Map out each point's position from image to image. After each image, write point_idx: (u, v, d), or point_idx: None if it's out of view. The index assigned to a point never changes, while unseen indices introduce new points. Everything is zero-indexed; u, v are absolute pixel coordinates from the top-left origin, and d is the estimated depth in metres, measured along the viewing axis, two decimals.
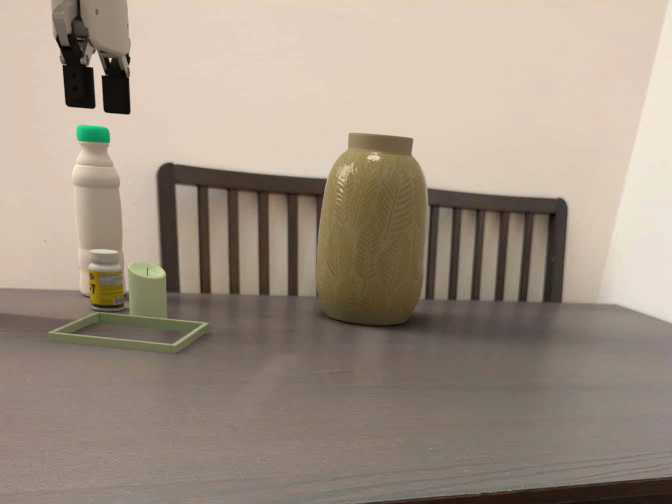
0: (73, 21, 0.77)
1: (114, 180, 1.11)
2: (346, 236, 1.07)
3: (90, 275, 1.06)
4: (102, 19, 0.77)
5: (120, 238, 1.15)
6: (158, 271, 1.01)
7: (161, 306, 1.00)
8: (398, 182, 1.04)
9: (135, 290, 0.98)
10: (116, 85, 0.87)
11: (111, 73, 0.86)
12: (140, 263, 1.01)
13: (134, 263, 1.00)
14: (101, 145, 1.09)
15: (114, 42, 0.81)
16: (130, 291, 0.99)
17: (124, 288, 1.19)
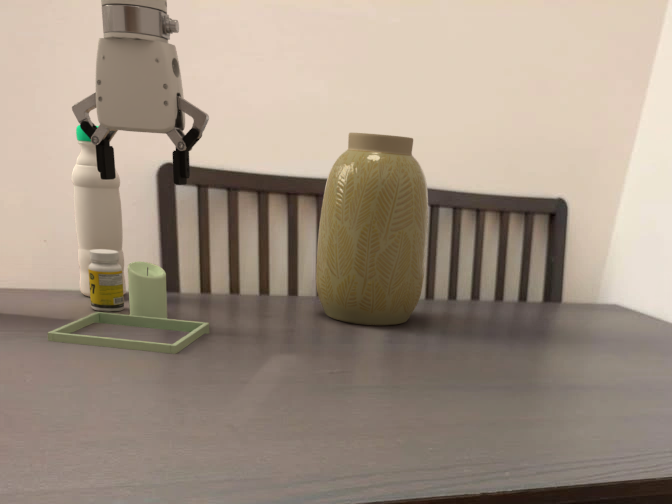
0: None
1: (114, 180, 1.11)
2: (346, 236, 1.07)
3: (90, 275, 1.06)
4: (108, 104, 0.89)
5: (120, 238, 1.15)
6: (158, 271, 1.01)
7: (161, 306, 1.00)
8: (398, 182, 1.04)
9: (135, 290, 0.98)
10: None
11: None
12: (140, 263, 1.01)
13: (134, 263, 1.00)
14: None
15: (135, 121, 0.90)
16: (130, 291, 0.99)
17: (124, 288, 1.19)
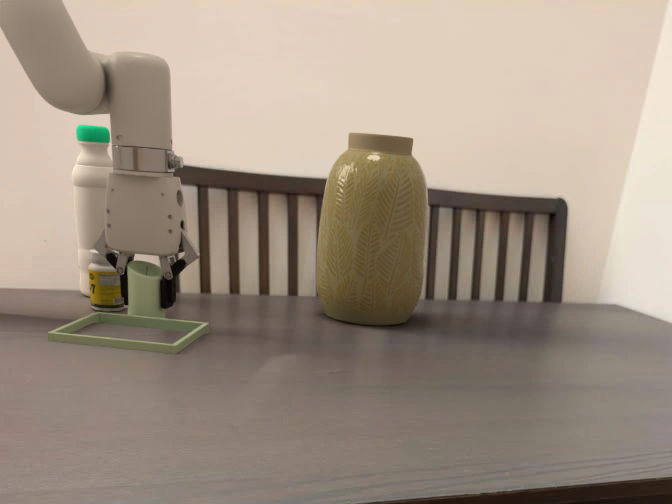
0: None
1: None
2: (346, 236, 1.07)
3: (90, 275, 1.06)
4: (116, 231, 0.96)
5: None
6: (157, 271, 1.01)
7: (160, 306, 1.00)
8: (398, 182, 1.04)
9: (134, 289, 0.98)
10: None
11: None
12: (139, 262, 1.01)
13: (133, 262, 1.00)
14: (101, 145, 1.09)
15: (141, 246, 0.96)
16: (129, 290, 0.99)
17: None
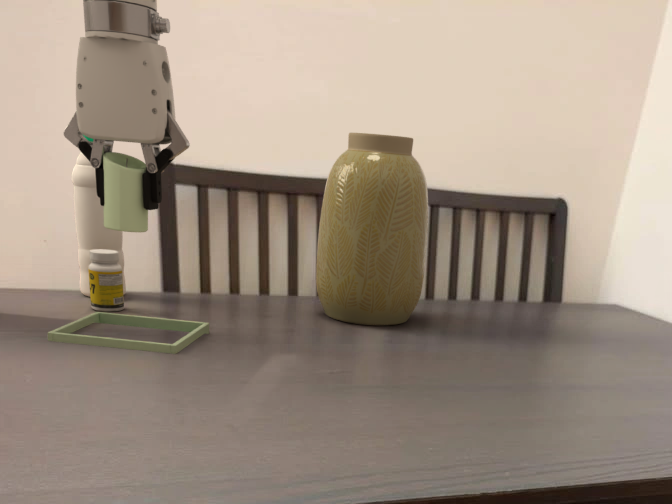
0: None
1: None
2: (346, 236, 1.07)
3: (90, 275, 1.06)
4: (90, 111, 0.80)
5: (120, 238, 1.15)
6: (139, 165, 0.85)
7: (142, 207, 0.85)
8: (398, 182, 1.04)
9: (111, 183, 0.83)
10: None
11: None
12: (118, 154, 0.85)
13: (111, 153, 0.84)
14: None
15: (120, 130, 0.81)
16: (105, 185, 0.83)
17: (124, 288, 1.19)
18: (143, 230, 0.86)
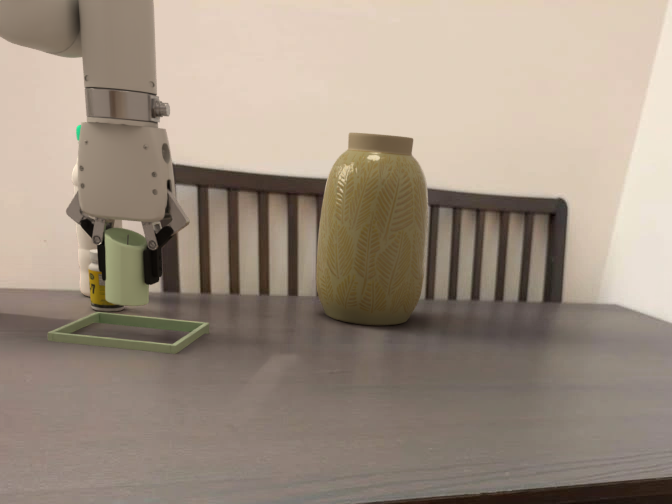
0: None
1: None
2: (346, 236, 1.07)
3: (90, 275, 1.06)
4: (92, 191, 0.81)
5: None
6: (140, 240, 0.87)
7: (143, 282, 0.86)
8: (398, 182, 1.04)
9: (112, 260, 0.84)
10: None
11: None
12: (120, 230, 0.86)
13: (112, 229, 0.86)
14: None
15: (121, 210, 0.82)
16: (106, 262, 0.85)
17: None
18: (144, 303, 0.87)
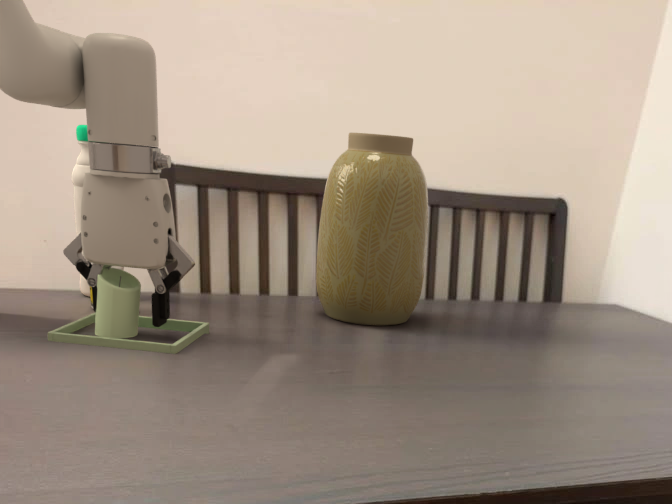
0: None
1: None
2: (346, 236, 1.07)
3: None
4: (94, 240, 0.83)
5: None
6: (132, 281, 0.89)
7: (133, 322, 0.88)
8: (398, 182, 1.04)
9: (104, 301, 0.86)
10: None
11: None
12: (112, 270, 0.88)
13: (105, 269, 0.87)
14: None
15: (123, 258, 0.84)
16: (98, 301, 0.87)
17: None
18: None
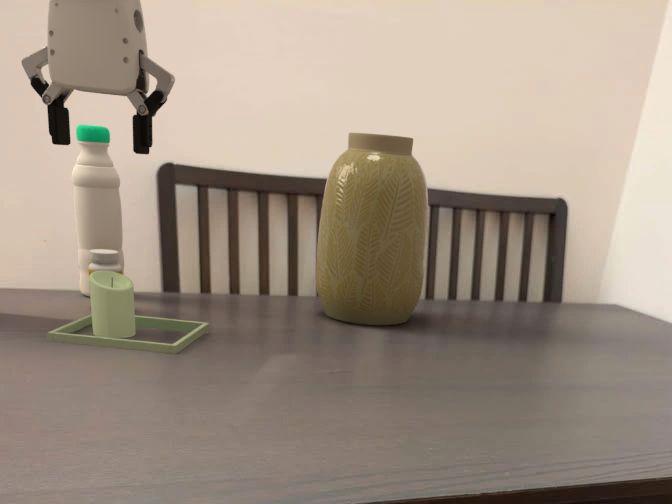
0: None
1: (114, 180, 1.11)
2: (346, 236, 1.07)
3: None
4: (61, 58, 0.79)
5: (120, 238, 1.15)
6: (124, 282, 0.89)
7: (129, 322, 0.88)
8: (398, 182, 1.04)
9: (98, 303, 0.86)
10: None
11: None
12: (104, 272, 0.88)
13: (97, 273, 0.88)
14: (101, 145, 1.09)
15: (91, 79, 0.80)
16: (92, 305, 0.87)
17: None
18: None
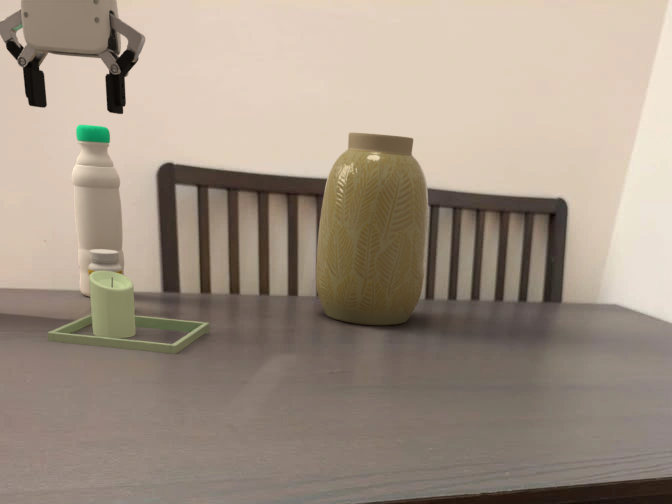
0: None
1: (114, 180, 1.11)
2: (346, 236, 1.07)
3: None
4: (35, 20, 0.82)
5: (120, 238, 1.15)
6: (124, 282, 0.89)
7: (129, 322, 0.88)
8: (398, 182, 1.04)
9: (98, 303, 0.86)
10: None
11: None
12: (104, 272, 0.88)
13: (97, 273, 0.88)
14: (101, 145, 1.09)
15: (64, 40, 0.83)
16: (92, 305, 0.87)
17: None
18: None
